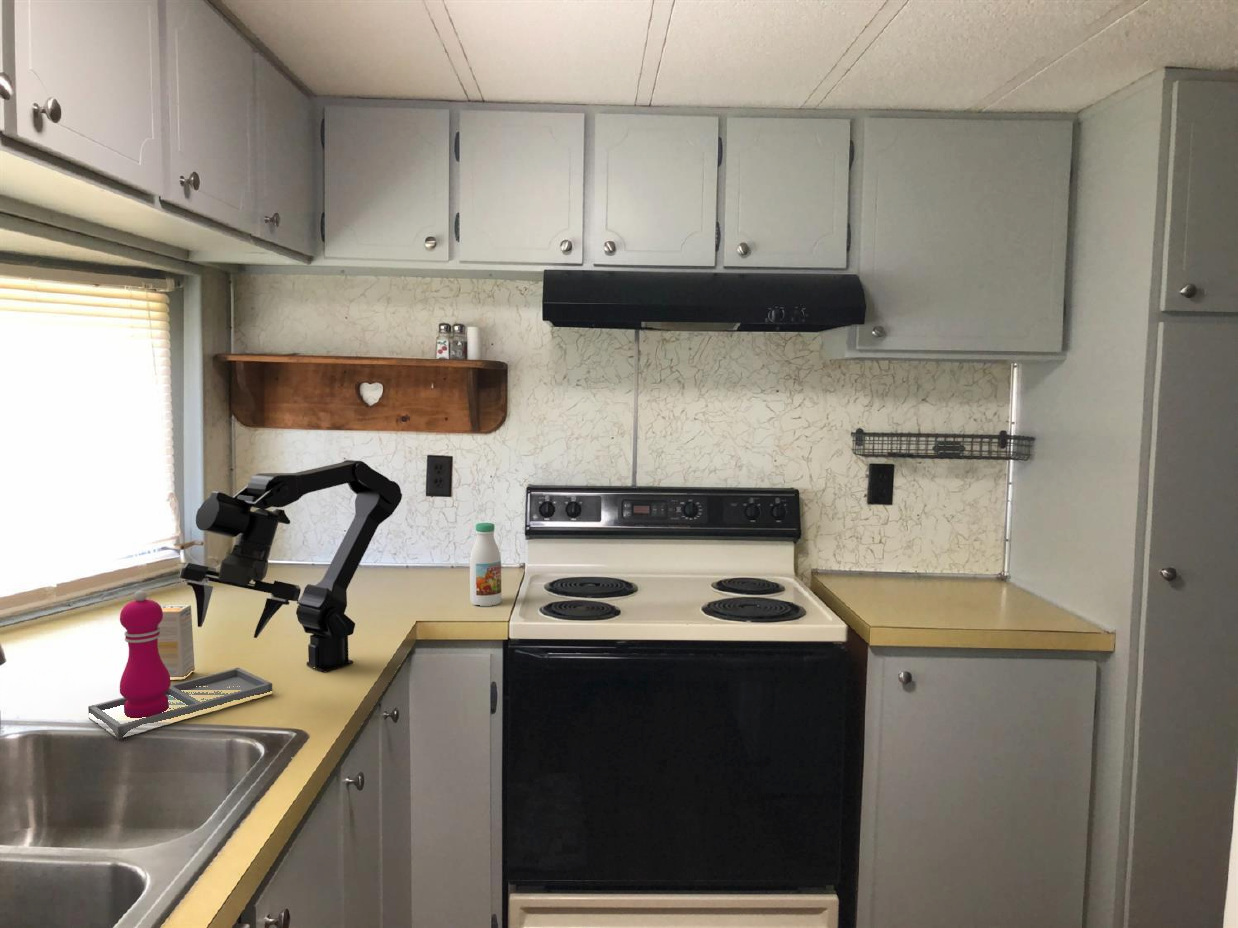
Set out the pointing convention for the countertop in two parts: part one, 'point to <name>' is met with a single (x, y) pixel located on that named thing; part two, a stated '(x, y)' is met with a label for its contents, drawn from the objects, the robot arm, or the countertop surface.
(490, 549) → the milk bottle
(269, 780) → the countertop surface
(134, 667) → the pepper mill
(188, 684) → the sorting tray
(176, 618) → the supplement box
